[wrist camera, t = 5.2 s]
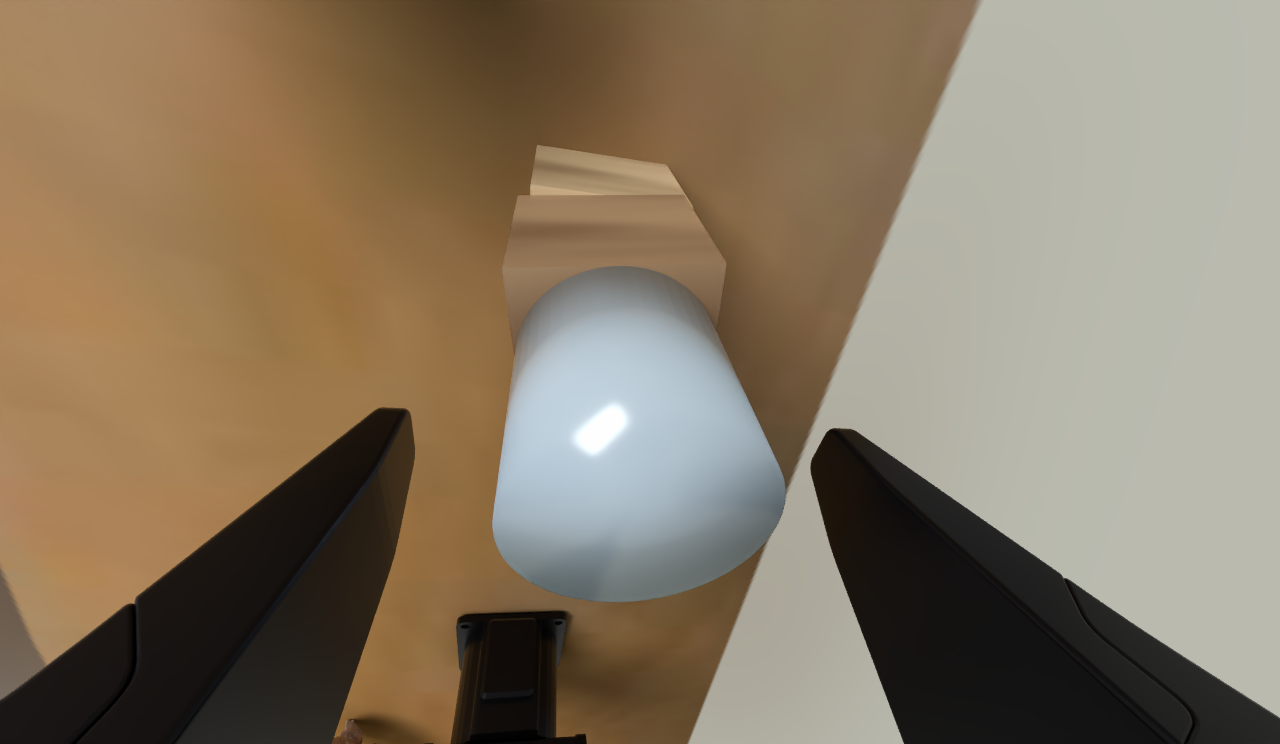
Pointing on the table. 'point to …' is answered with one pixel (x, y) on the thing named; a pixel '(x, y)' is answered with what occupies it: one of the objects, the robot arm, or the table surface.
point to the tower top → (606, 245)
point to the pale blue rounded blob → (629, 444)
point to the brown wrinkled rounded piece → (349, 734)
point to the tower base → (598, 175)
